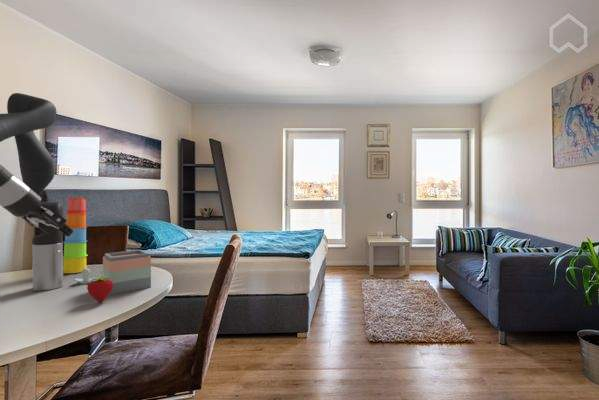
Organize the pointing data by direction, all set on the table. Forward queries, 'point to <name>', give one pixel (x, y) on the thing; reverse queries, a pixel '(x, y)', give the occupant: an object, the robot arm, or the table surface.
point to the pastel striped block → (127, 270)
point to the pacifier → (85, 277)
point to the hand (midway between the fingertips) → (61, 233)
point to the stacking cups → (75, 237)
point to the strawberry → (100, 288)
